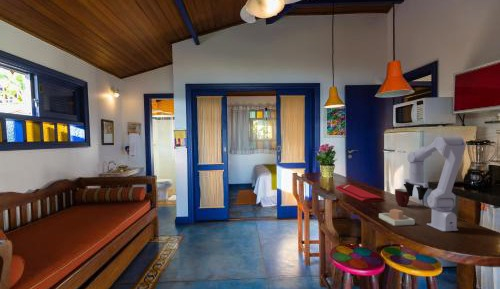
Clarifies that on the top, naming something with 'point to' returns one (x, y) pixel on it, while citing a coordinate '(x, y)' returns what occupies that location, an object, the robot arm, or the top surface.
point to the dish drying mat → (358, 193)
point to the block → (396, 214)
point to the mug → (401, 197)
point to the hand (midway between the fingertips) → (415, 197)
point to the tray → (405, 220)
